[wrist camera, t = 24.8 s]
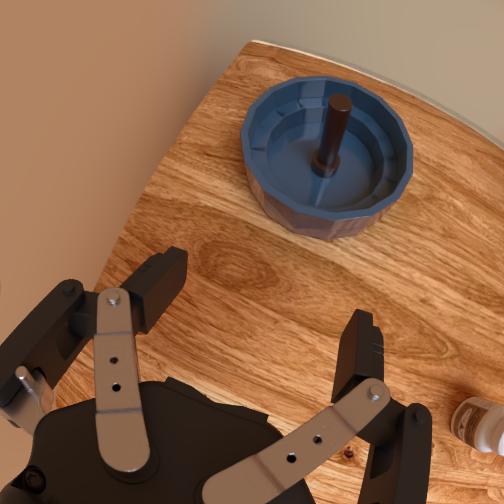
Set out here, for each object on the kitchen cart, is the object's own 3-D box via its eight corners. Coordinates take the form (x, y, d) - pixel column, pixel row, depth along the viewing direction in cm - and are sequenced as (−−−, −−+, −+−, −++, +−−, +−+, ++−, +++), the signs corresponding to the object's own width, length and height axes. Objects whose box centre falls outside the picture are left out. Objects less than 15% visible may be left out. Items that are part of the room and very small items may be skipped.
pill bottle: (452, 401, 20) (500, 420, 13) (484, 392, 20) (534, 404, 12) (446, 442, 19) (488, 469, 12) (478, 431, 19) (523, 451, 11)
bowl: (259, 251, 25) (253, 232, 20) (240, 121, 28) (233, 84, 23) (408, 229, 24) (435, 208, 19) (367, 109, 28) (380, 74, 22)
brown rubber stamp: (314, 179, 26) (328, 116, 17) (308, 156, 26) (318, 90, 17) (340, 177, 25) (363, 114, 17) (333, 154, 26) (352, 88, 17)
